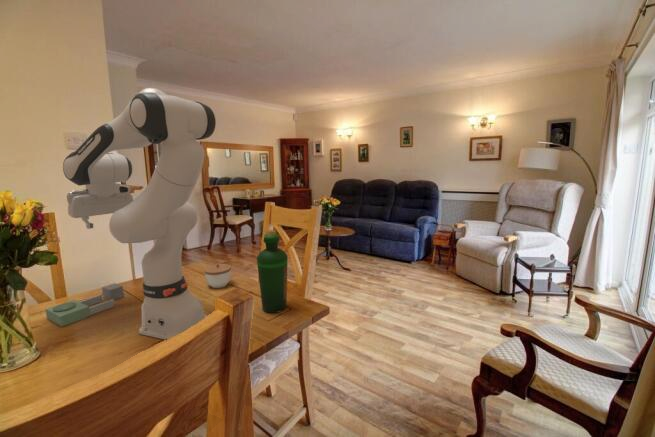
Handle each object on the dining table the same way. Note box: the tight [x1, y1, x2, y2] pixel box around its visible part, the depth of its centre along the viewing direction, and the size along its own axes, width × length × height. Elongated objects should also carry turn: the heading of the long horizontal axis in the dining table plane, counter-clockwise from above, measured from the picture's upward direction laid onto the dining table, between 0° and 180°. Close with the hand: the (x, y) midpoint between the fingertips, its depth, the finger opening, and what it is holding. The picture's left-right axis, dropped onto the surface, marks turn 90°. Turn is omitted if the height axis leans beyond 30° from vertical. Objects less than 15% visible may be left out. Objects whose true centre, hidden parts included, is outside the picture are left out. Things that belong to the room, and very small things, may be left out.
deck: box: [45, 294, 116, 327], centre depth 109 cm, size 11×16×4 cm
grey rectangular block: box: [101, 282, 125, 301], centre depth 121 cm, size 6×4×4 cm
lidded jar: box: [203, 263, 232, 289], centre depth 131 cm, size 11×11×9 cm
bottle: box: [256, 229, 288, 314], centre depth 109 cm, size 11×11×28 cm
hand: (104, 225), depth 115 cm, fingers open, 8 cm apart
